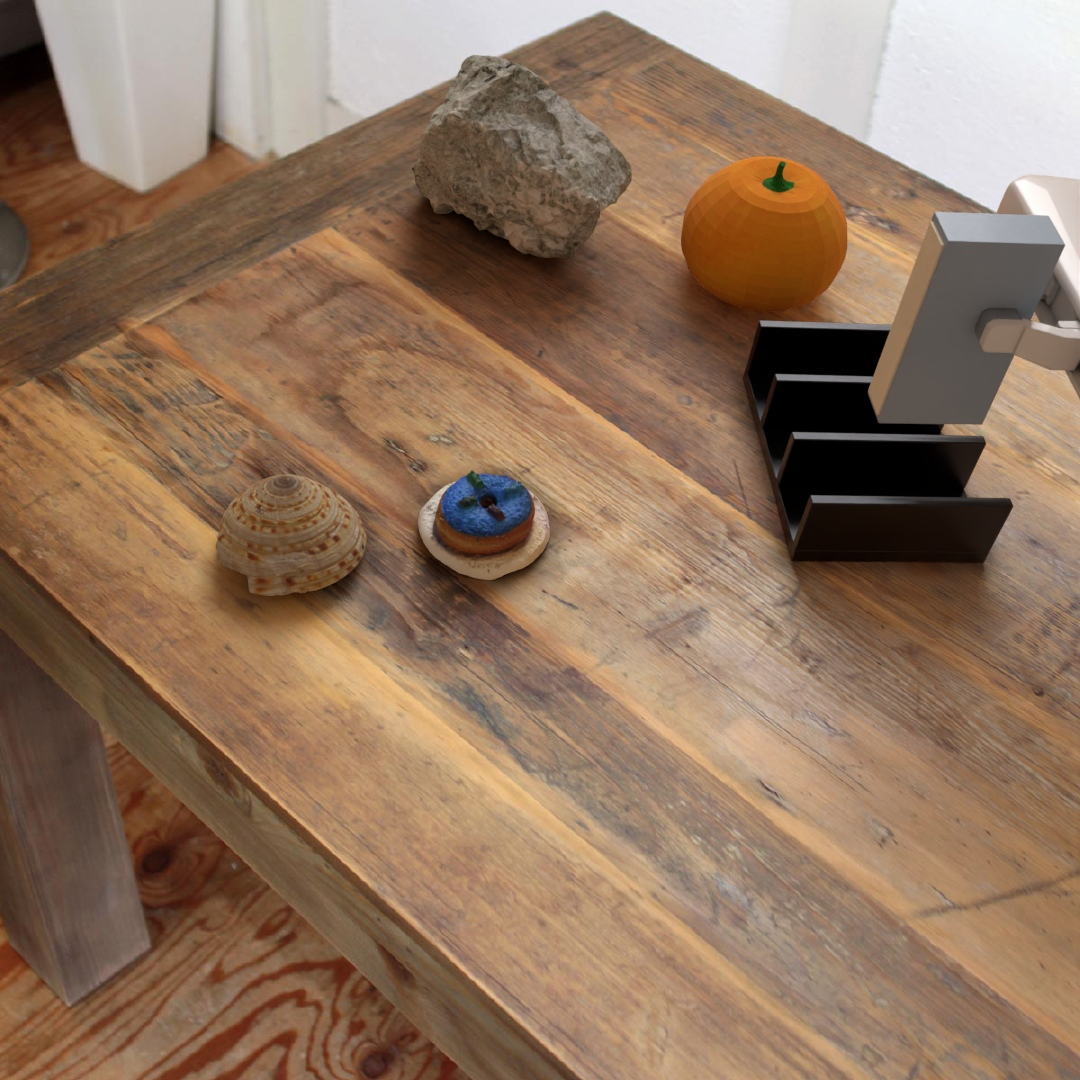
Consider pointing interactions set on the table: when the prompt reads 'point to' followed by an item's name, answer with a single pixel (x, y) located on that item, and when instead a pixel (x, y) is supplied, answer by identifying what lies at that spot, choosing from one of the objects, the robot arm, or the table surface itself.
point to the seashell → (290, 536)
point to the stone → (518, 159)
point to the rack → (859, 455)
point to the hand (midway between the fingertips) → (969, 306)
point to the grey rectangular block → (960, 315)
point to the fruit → (764, 234)
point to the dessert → (484, 526)
